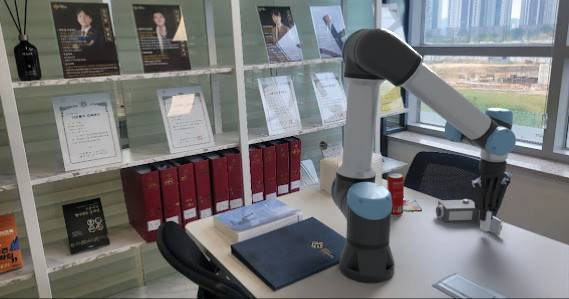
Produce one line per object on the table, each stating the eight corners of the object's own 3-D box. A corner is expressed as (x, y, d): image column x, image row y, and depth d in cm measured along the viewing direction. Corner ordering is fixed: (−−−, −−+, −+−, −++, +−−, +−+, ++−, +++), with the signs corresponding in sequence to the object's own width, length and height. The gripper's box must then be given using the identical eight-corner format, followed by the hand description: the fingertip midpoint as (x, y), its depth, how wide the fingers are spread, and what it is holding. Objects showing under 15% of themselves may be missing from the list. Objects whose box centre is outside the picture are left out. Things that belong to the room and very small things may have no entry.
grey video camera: (441, 223, 147) (443, 206, 146) (432, 214, 155) (434, 198, 153) (479, 222, 148) (481, 205, 146) (469, 213, 155) (471, 197, 154)
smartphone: (402, 210, 158) (393, 196, 173) (402, 212, 158) (393, 197, 173) (423, 210, 158) (412, 195, 173) (423, 212, 158) (412, 197, 173)
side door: (501, 235, 138) (503, 220, 136) (497, 235, 138) (499, 221, 136) (480, 221, 148) (482, 208, 147) (477, 221, 148) (478, 208, 146)
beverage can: (405, 212, 158) (407, 173, 154) (399, 218, 152) (401, 178, 148) (389, 208, 161) (391, 170, 157) (383, 214, 155) (385, 175, 151)
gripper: (483, 163, 127) (474, 236, 133) (520, 160, 130) (510, 232, 136) (467, 156, 134) (459, 226, 140) (503, 154, 137) (494, 222, 143)
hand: (484, 229), depth 138 cm, fingers closed
